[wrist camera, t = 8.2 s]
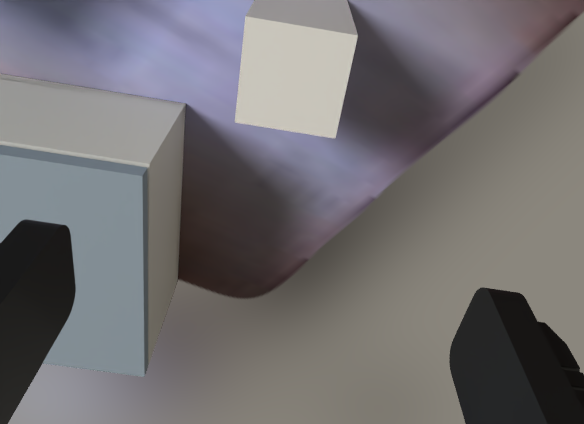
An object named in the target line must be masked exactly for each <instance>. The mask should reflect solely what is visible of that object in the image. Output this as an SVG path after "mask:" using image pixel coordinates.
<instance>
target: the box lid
mask: <svg viewBox="0 0 584 424" xmlns="http://www.w3.org/2000/svg"><path fill="white" fill-rule="evenodd" d="M24 219H28V220H35V221H41V222H48V223H55V224H62V225H66V226H67V227H68V228H69V230H70V234H71V243H72V253H73V263H74V274H75V284H76V292H75V299H74V304H73V307H72V311H71V313H70V316H69V318H68V320H67V321H66V323H65V325H64V327H63V328H62V330H61V332H60V334H59V335H58V337H57V339H56V340H55V342H54V344H53V346H52V347H51V349H50V351H49V353H48V354H47V356H46V358H45V360H44V361H43V364H52V365H59V366H66V367H74V368H82V369H90V370H97V371H104V372H112V373H120V374H128V375H135V376H142V377H144V376H145V374H146V371H147V368H148V202H147V167H141V166H134V165H128V164H121V163H115V162H108V161H102V160H95V159H89V158H82V157H76V156H69V155H63V154H56V153H50V152H43V151H37V150H30V149H23V148H17V147H10V146H4V145H0V243H1V242H2V241H3V240H4V239H5V238H6V237H7V235H8V234H9V233H10V232H11V231H12V230H13V229H14V228H15V226H16V225H17V224H18V223H19V222H20V221H22V220H24Z"/></svg>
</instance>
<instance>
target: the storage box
mask: <svg viewBox="0 0 584 424" xmlns="http://www.w3.org/2000/svg"><path fill="white" fill-rule="evenodd" d="M185 107H186V104H185V103H179V102H173V101H167V100H160V99H154V98H148V97H142V96H136V95H129V94H123V93H117V92H111V91H105V90H98V89H92V88H86V87H80V86H74V85H67V84H61V83H55V82H49V81H43V80H36V79H30V78H24V77H18V76H12V75H5V74H0V145H4V146H10V147H17V148H23V149H30V150H37V151H43V152H50V153H56V154H63V155H69V156H76V157H82V158H89V159H95V160H102V161H108V162H115V163H121V164H128V165H134V166H141V167H147V202H148V365H149V362H150V359H151V357H152V353H153V351H154V348H155V345H156V342H157V339H158V336H159V333H160V331H161V328H162V325H163V322H164V319H165V316H166V313H167V310H168V307H169V305H170V302H171V299H172V296H173V293H174V290H175V287H176V284H177V282H178V264H179V241H180V219H181V197H182V174H183V152H184V129H185Z"/></svg>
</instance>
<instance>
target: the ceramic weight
mask: <svg viewBox="0 0 584 424" xmlns="http://www.w3.org/2000/svg"><path fill="white" fill-rule="evenodd" d="M357 38H358V34H357V31H356V27H355V24H354V21H353V18H352V14H351V11H350V8H349V5H348V1H347V0H254V2H253V4H252V5H251V7H250V9H249V11H248V13H247V15H246V17H245V27H244V37H243V47H242V57H241V67H240V77H239V86H238V96H237V106H236V116H235V123H242V124H248V125H254V126H260V127H267V128H273V129H279V130H285V131H292V132H298V133H304V134H311V135H317V136H323V137H329V138H336V133H337V129H338V124H339V120H340V115H341V111H342V106H343V101H344V97H345V92H346V88H347V83H348V79H349V74H350V70H351V65H352V61H353V56H354V52H355V47H356V42H357Z"/></svg>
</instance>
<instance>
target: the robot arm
mask: <svg viewBox="0 0 584 424" xmlns="http://www.w3.org/2000/svg"><path fill="white" fill-rule="evenodd" d="M75 292H76V284H75V274H74V263H73V253H72V243H71V234H70V230H69V228H68V227H67V226H66V225H62V224H55V223H48V222H41V221H35V220H28V219H24V220H22V221H20V222H19V223H18V224H17V225H16V226H15V228H14V229H13V230H12V231H11V232H10V233H9V234H8V235H7V237H6V238H5V239H4V240H3V241H2V242H1V243H0V424H8V422H9V420H10V419H11V417H12V415H13V413H14V412H15V410H16V408H17V406H18V405H19V403H20V401H21V400H22V398H23V396H24V394H25V393H26V391H27V389H28V387H29V386H30V384H31V382H32V380H33V379H34V377H35V375H36V373H37V372H38V370H39V368H40V367H41V365H42V363H43V361H44V360H45V358H46V356H47V354H48V353H49V351H50V349H51V347H52V346H53V344H54V342H55V340H56V339H57V337H58V335H59V334H60V332H61V330H62V328H63V327H64V325H65V323H66V321H67V320H68V318H69V316H70V313H71V311H72V307H73V304H74V299H75ZM579 369H580V367H579V366H578V364H577V362H576V360H575V359H574V357H573V355H572V353H571V351H570V350H569V348H568V346H567V344H566V343H565V342H564V341H562V339H561V338H560V337H559V336H558V335H557V334H556V333H555V332H554V331H553V330H552V329H551V328H550V327H549V326H548V325H547V324H546V323H542V322H537V320H536V318H535V316H534V314H533V312H532V310H531V308H530V306H529V304H528V303H527V301H526V299H525V297H524V296H523V295H522V294H520V293H516V292H510V291H503V290H496V289H489V288H480V289H479V290H477V291H476V293H475V294H474V296H473V298H472V301H471V303H470V305H469V307H468V309H467V311H466V313H465V315H464V318H463V320H462V322H461V324H460V326H459V328H458V330H457V333H456V335H455V337H454V339H453V342H452V345H451V349H450V370H451V374H452V378H453V381H454V384H455V388H456V391H457V395H458V398H459V402H460V406H461V409H462V412H463V416H464V419H465V423H466V424H584V374H583V373H580V372H579Z"/></svg>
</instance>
